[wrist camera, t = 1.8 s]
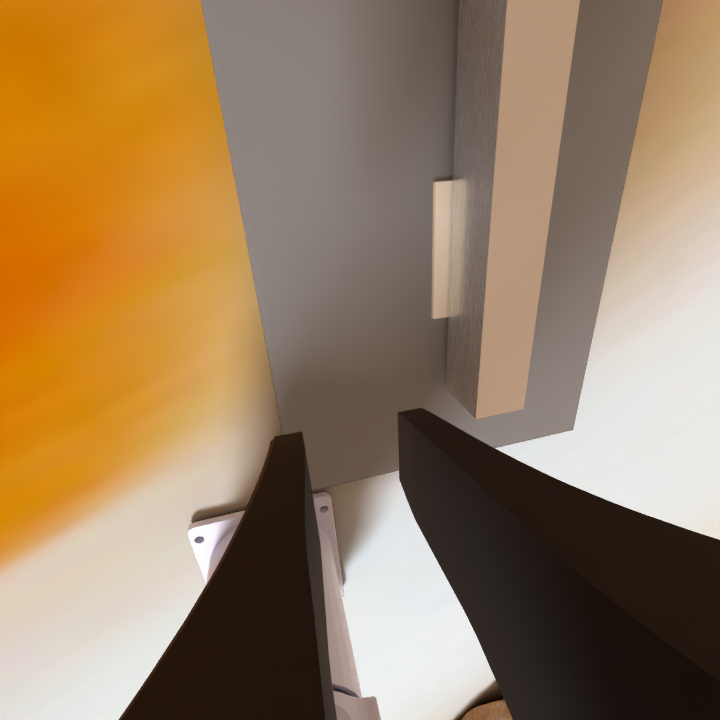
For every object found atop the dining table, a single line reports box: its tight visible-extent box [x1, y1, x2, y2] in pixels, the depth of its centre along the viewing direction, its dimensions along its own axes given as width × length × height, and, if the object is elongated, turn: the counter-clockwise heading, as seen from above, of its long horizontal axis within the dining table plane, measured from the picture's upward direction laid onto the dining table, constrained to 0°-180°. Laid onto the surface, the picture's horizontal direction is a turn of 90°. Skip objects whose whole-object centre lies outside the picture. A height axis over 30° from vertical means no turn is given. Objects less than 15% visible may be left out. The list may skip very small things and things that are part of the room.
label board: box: [201, 0, 663, 490], centre depth 17 cm, size 24×18×1 cm
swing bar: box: [446, 0, 580, 419], centre depth 14 cm, size 18×3×3 cm, turn 4°
